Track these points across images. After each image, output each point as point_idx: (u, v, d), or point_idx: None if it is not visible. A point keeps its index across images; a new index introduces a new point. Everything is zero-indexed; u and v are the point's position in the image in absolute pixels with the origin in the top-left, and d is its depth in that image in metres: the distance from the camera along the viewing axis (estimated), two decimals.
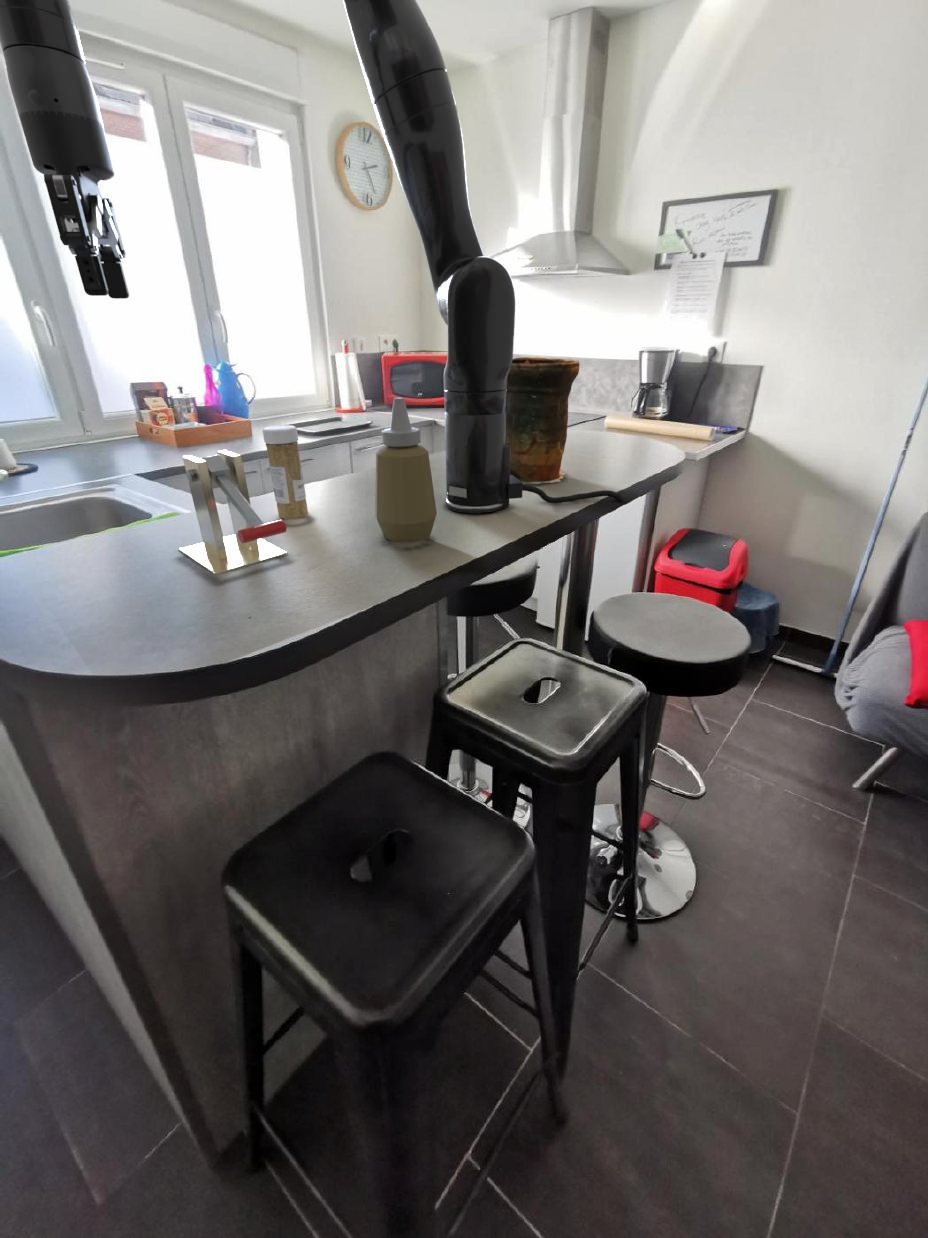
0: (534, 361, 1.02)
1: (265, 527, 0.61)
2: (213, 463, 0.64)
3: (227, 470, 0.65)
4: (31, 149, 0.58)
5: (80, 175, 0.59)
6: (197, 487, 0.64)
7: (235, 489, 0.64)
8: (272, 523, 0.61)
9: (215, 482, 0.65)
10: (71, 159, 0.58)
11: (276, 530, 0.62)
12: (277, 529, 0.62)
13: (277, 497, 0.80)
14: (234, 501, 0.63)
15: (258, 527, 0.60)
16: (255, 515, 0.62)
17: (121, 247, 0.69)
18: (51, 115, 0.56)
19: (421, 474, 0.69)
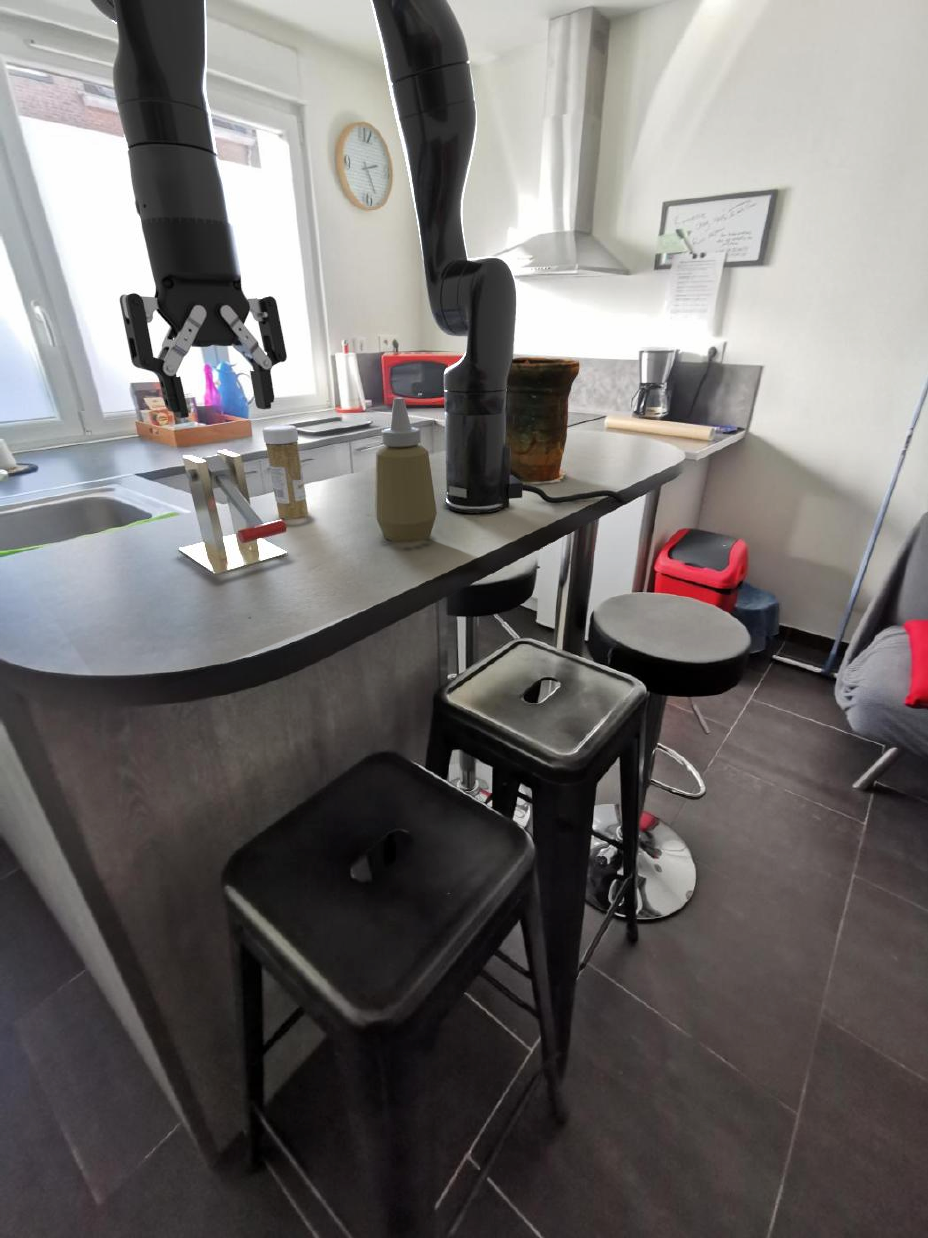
0: (534, 361, 1.02)
1: (265, 527, 0.61)
2: (213, 463, 0.64)
3: (227, 470, 0.65)
4: None
5: (173, 286, 0.50)
6: (197, 487, 0.64)
7: (235, 489, 0.64)
8: (272, 523, 0.61)
9: (215, 482, 0.65)
10: (158, 271, 0.49)
11: (276, 530, 0.62)
12: (277, 529, 0.62)
13: (277, 497, 0.80)
14: (234, 501, 0.63)
15: (258, 527, 0.60)
16: (255, 515, 0.62)
17: (277, 351, 0.58)
18: (144, 224, 0.48)
19: (421, 474, 0.69)
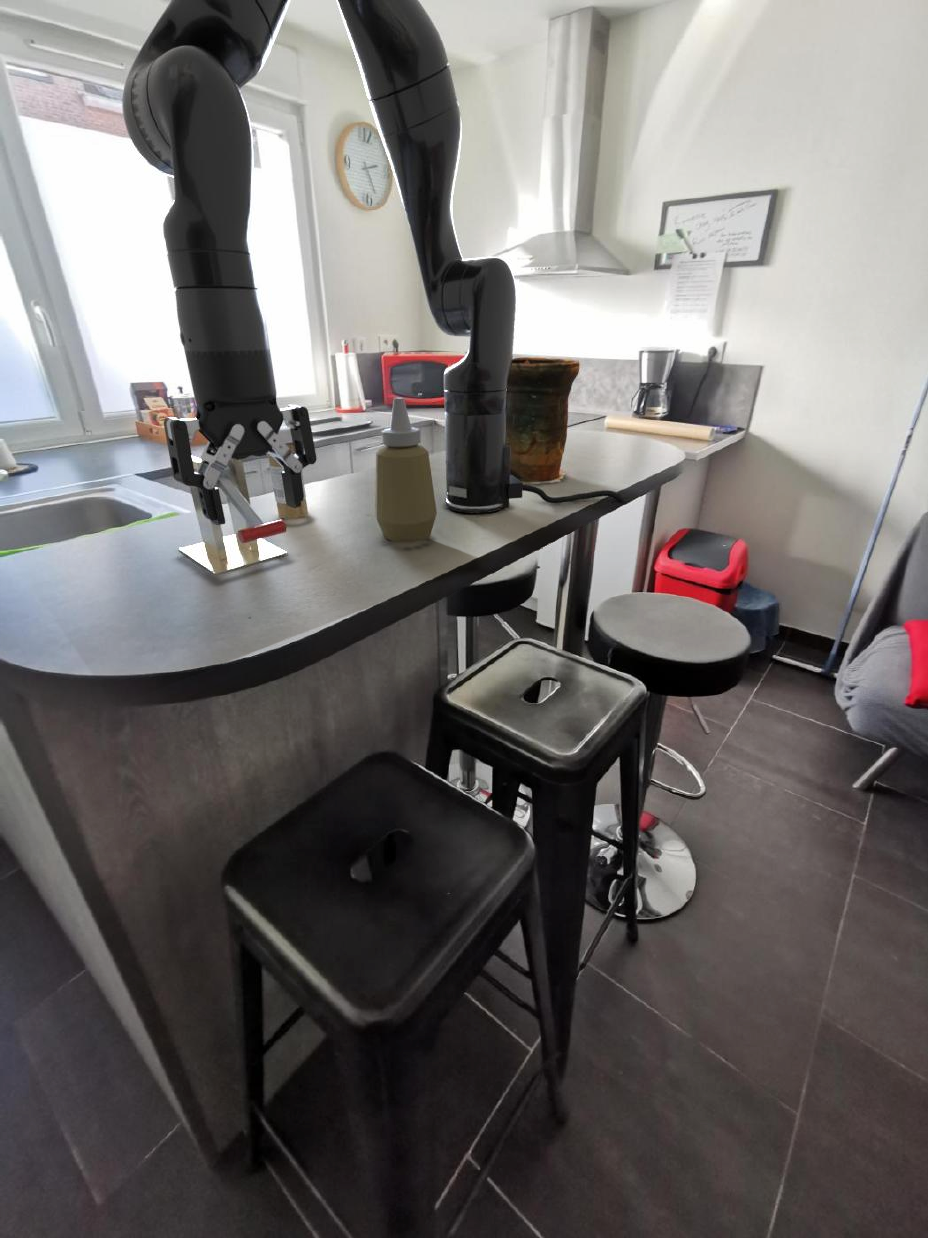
0: (534, 361, 1.02)
1: (265, 527, 0.61)
2: None
3: (227, 470, 0.65)
4: None
5: (214, 409, 0.53)
6: None
7: (235, 489, 0.64)
8: (272, 523, 0.61)
9: None
10: (201, 396, 0.52)
11: (276, 530, 0.62)
12: (277, 529, 0.62)
13: (277, 497, 0.80)
14: (234, 501, 0.63)
15: (258, 527, 0.60)
16: (255, 515, 0.62)
17: (308, 455, 0.61)
18: (188, 355, 0.51)
19: (421, 474, 0.69)
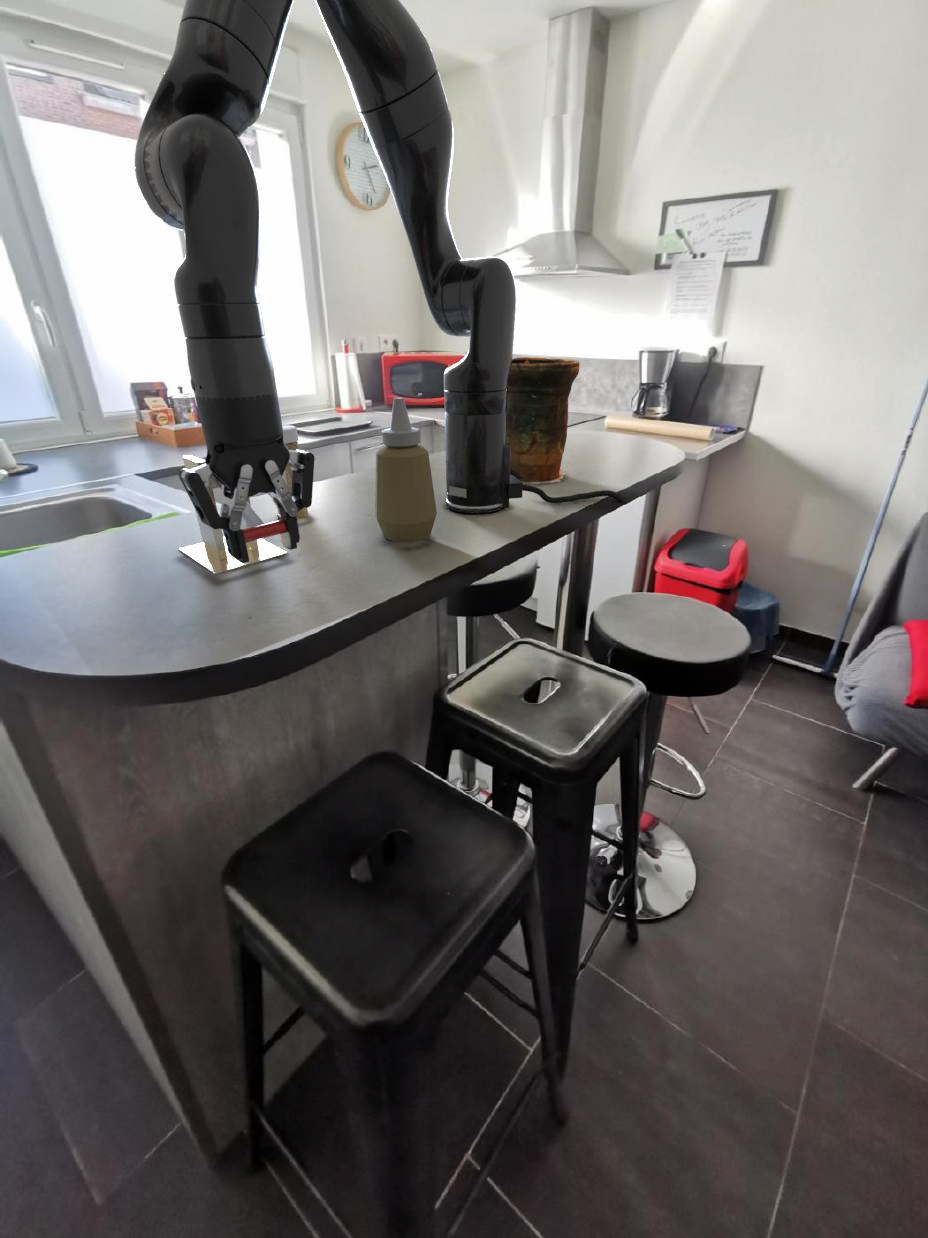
0: (534, 361, 1.02)
1: (265, 527, 0.61)
2: None
3: None
4: None
5: (223, 450, 0.55)
6: None
7: None
8: (272, 523, 0.61)
9: (215, 482, 0.65)
10: (211, 439, 0.54)
11: (276, 530, 0.62)
12: (277, 529, 0.62)
13: None
14: None
15: (258, 527, 0.60)
16: (255, 515, 0.62)
17: (304, 498, 0.62)
18: (199, 401, 0.52)
19: (421, 474, 0.69)
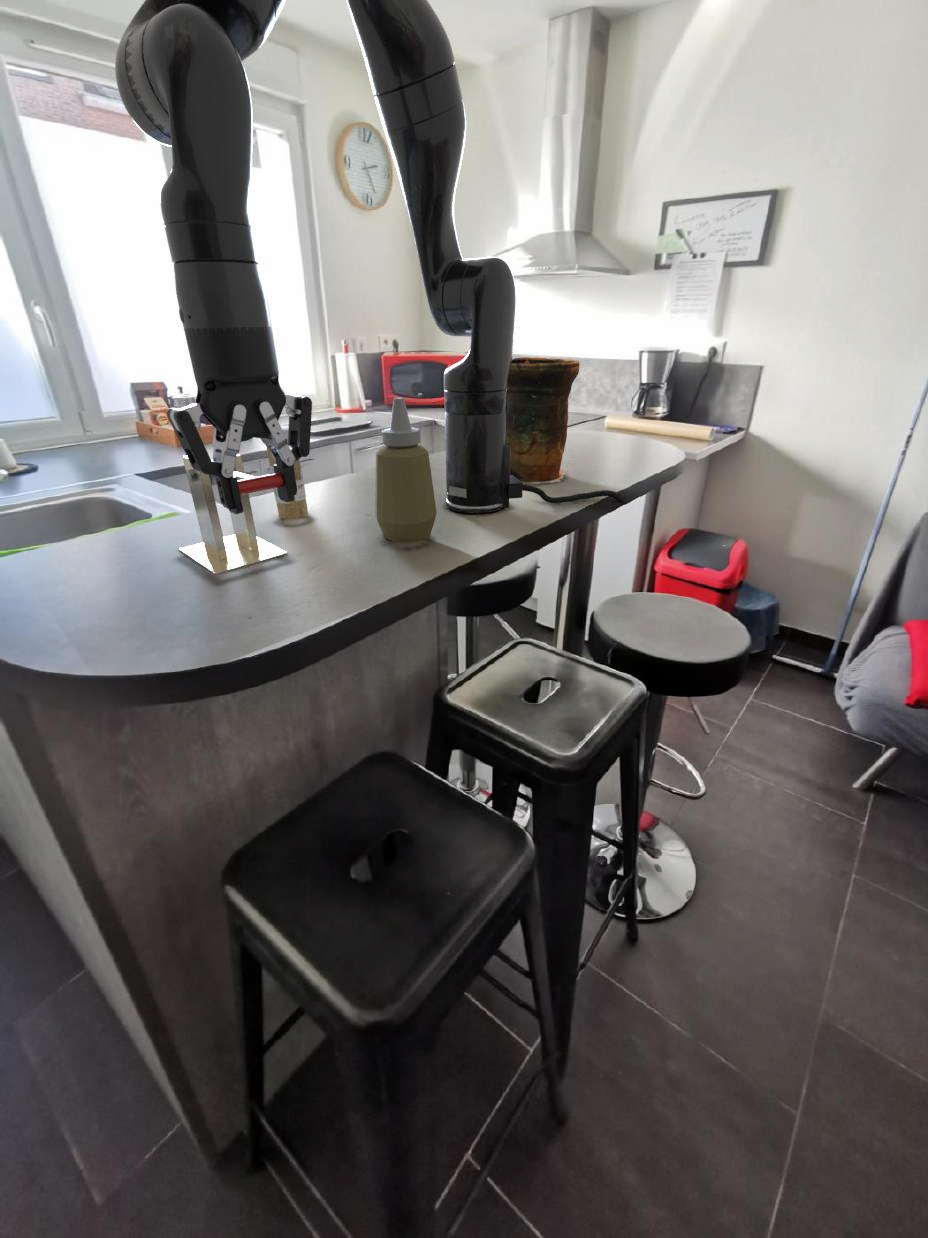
0: (534, 361, 1.02)
1: (259, 477, 0.58)
2: None
3: None
4: None
5: (215, 388, 0.51)
6: (197, 487, 0.64)
7: None
8: (267, 475, 0.58)
9: None
10: (201, 375, 0.50)
11: (272, 480, 0.58)
12: (272, 479, 0.58)
13: (277, 497, 0.80)
14: None
15: (252, 478, 0.57)
16: (250, 476, 0.59)
17: (302, 446, 0.59)
18: (188, 333, 0.49)
19: (421, 474, 0.69)
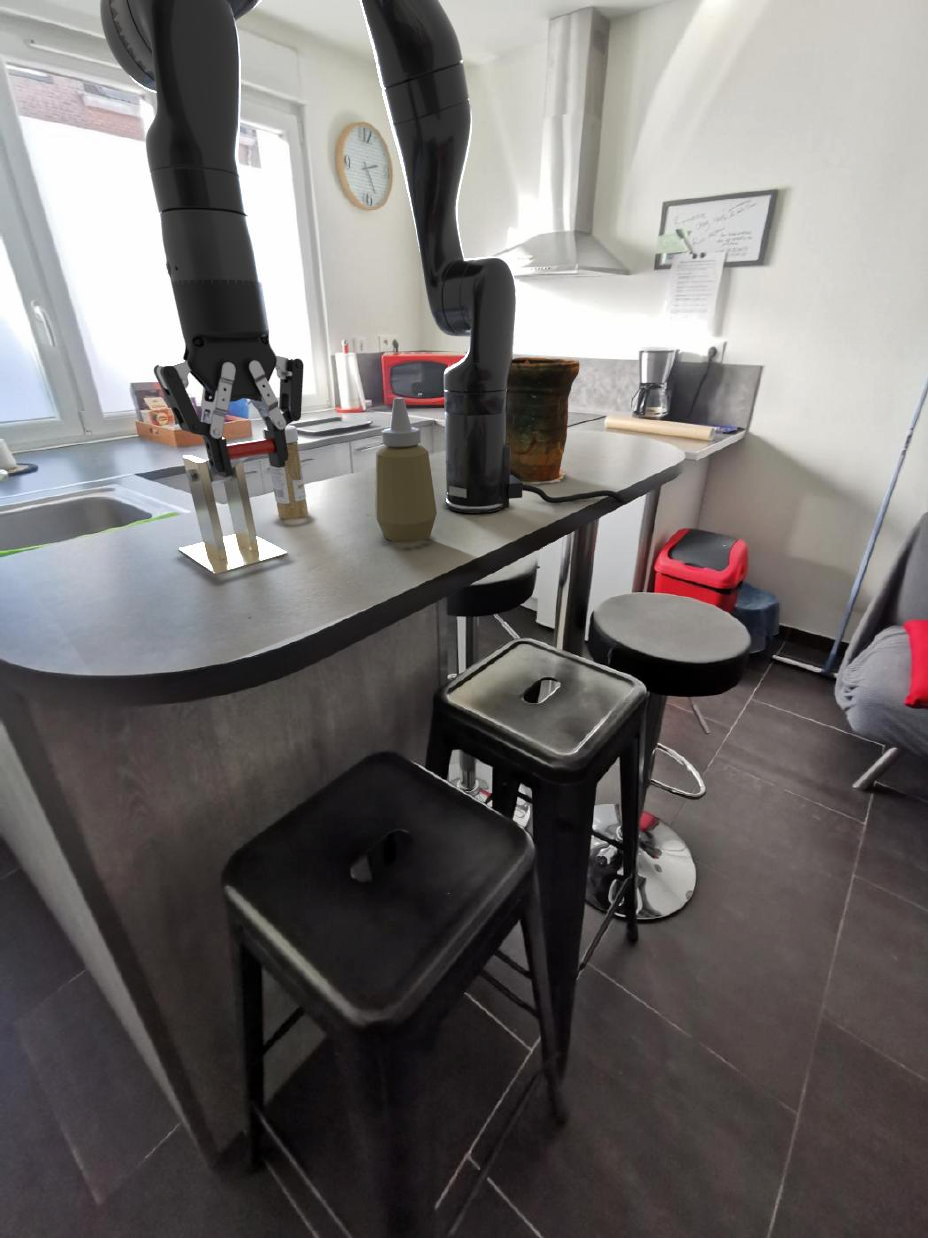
0: (534, 361, 1.02)
1: None
2: None
3: None
4: None
5: (203, 344, 0.50)
6: (197, 487, 0.64)
7: None
8: None
9: (214, 473, 0.64)
10: (189, 330, 0.49)
11: (262, 443, 0.57)
12: (262, 442, 0.57)
13: (277, 497, 0.80)
14: None
15: (241, 443, 0.56)
16: None
17: (293, 409, 0.58)
18: (175, 285, 0.48)
19: (421, 474, 0.69)
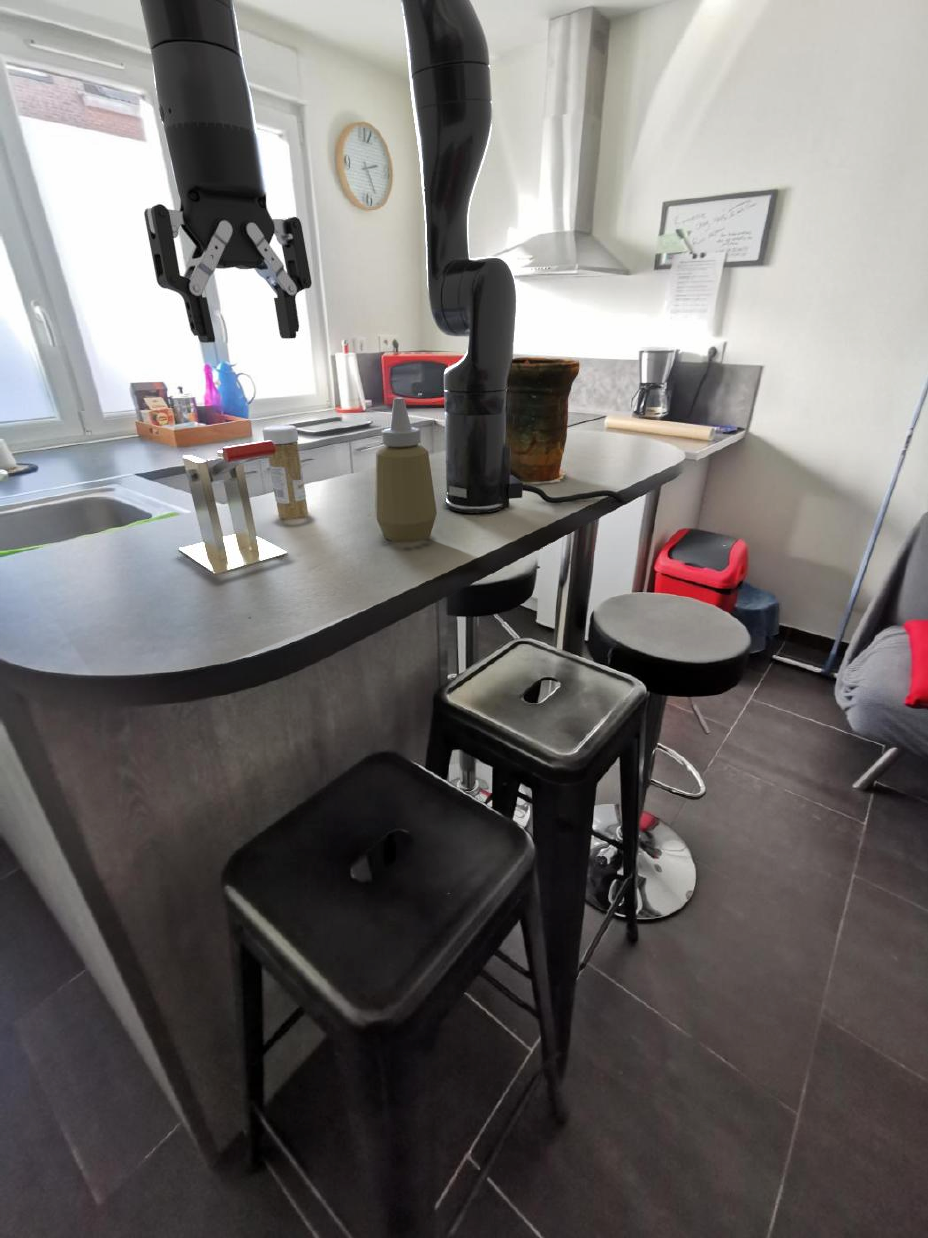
0: (534, 361, 1.02)
1: None
2: None
3: (223, 460, 0.65)
4: None
5: (199, 199, 0.48)
6: (197, 487, 0.64)
7: None
8: None
9: (214, 473, 0.64)
10: (184, 182, 0.48)
11: (262, 445, 0.57)
12: (263, 444, 0.57)
13: (277, 497, 0.80)
14: (226, 460, 0.61)
15: None
16: None
17: (302, 276, 0.57)
18: (169, 132, 0.46)
19: (421, 474, 0.69)
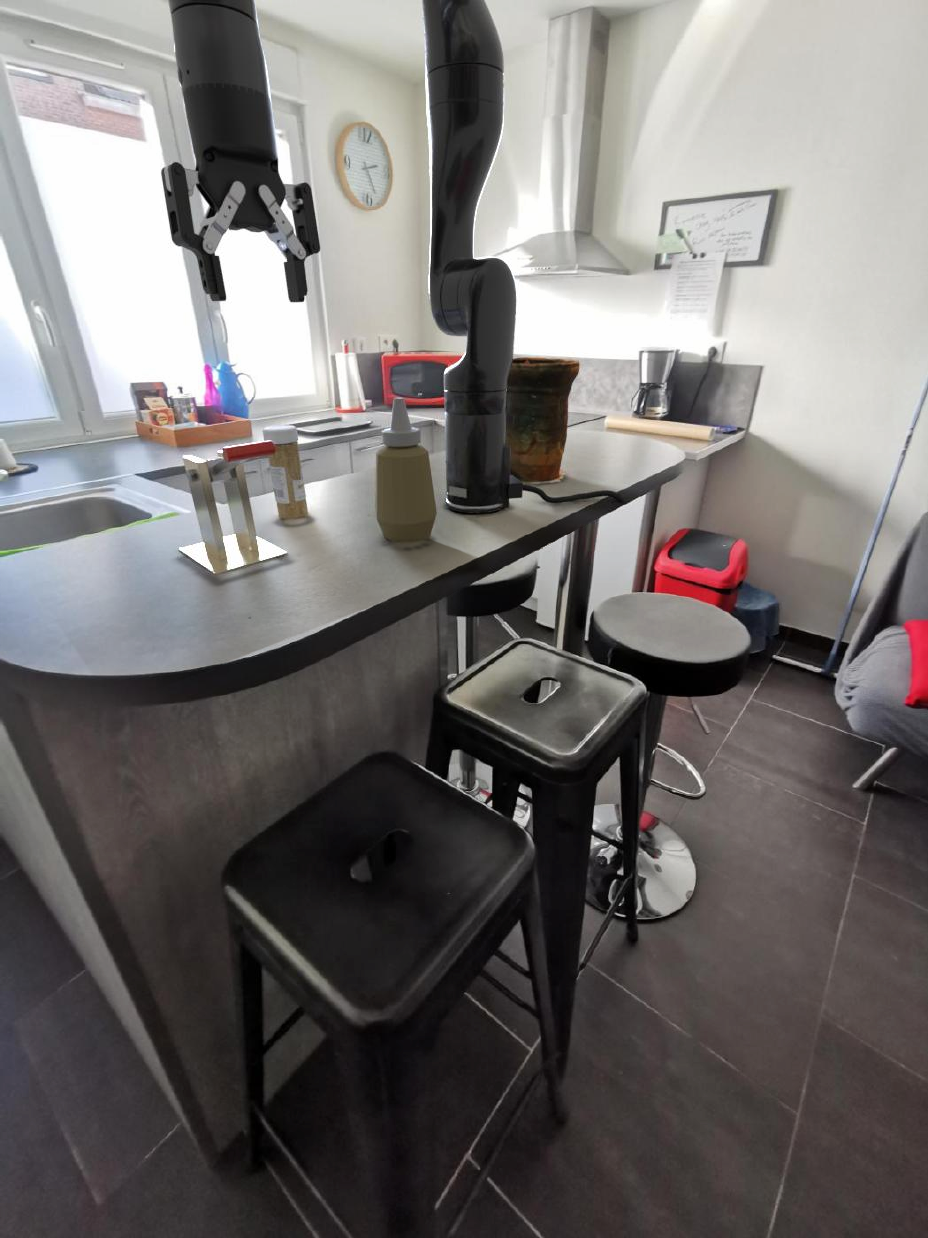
0: (534, 361, 1.02)
1: None
2: None
3: (223, 460, 0.65)
4: None
5: (213, 160, 0.50)
6: (197, 487, 0.64)
7: None
8: None
9: (214, 473, 0.64)
10: (200, 142, 0.50)
11: (262, 445, 0.57)
12: (263, 444, 0.57)
13: (277, 497, 0.80)
14: (226, 460, 0.61)
15: None
16: None
17: (311, 241, 0.58)
18: (186, 93, 0.48)
19: (421, 474, 0.69)
